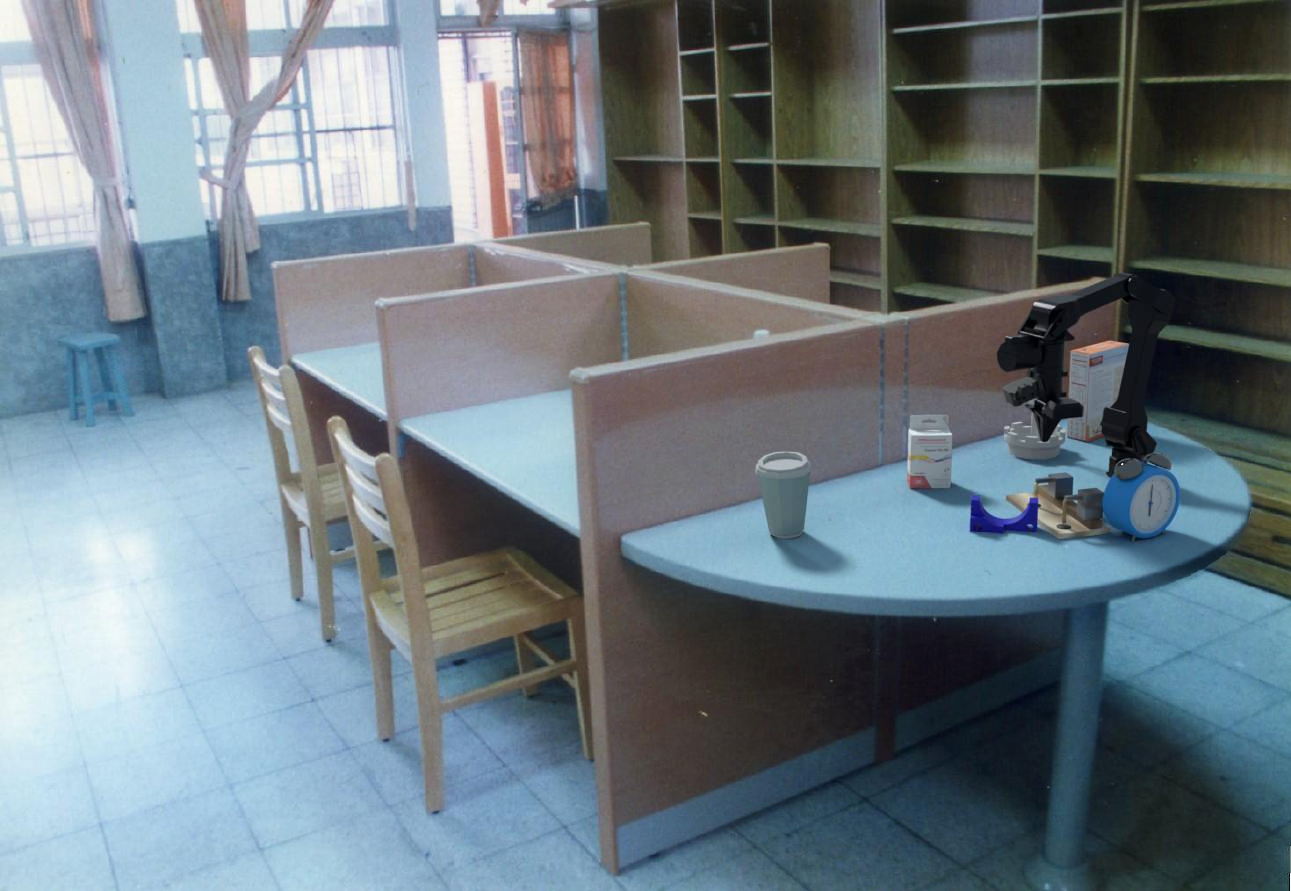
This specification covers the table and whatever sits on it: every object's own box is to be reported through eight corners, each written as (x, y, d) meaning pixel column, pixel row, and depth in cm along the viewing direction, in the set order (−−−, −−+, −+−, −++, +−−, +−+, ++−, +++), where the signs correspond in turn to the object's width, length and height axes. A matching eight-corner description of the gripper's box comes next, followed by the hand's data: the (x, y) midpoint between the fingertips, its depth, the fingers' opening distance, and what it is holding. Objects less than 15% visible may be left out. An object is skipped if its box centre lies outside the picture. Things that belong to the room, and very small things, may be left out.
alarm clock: (1123, 546, 212) (1129, 466, 208) (1098, 535, 218) (1103, 457, 213) (1178, 532, 217) (1185, 454, 212) (1152, 522, 222) (1158, 445, 218)
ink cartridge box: (909, 489, 247) (910, 421, 242) (906, 481, 251) (907, 414, 247) (951, 488, 246) (953, 420, 241) (948, 480, 250) (949, 413, 246)
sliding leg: (1064, 496, 233) (1065, 472, 231) (1072, 501, 230) (1073, 477, 228) (1030, 500, 232) (1031, 475, 230) (1037, 505, 229) (1038, 480, 227)
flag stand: (1072, 459, 259) (1080, 324, 250) (1012, 462, 260) (1018, 327, 251) (1053, 442, 272) (1060, 312, 263) (996, 444, 272) (1001, 315, 263)
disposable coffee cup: (807, 545, 220) (806, 468, 216) (751, 541, 224) (748, 466, 219) (816, 524, 230) (815, 451, 226) (762, 521, 233) (760, 449, 229)
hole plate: (1053, 494, 239) (1054, 459, 237) (1109, 533, 218) (1112, 495, 216) (1005, 499, 238) (1007, 464, 235) (1058, 539, 217) (1060, 500, 215)
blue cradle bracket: (969, 532, 223) (970, 502, 221) (970, 524, 227) (971, 494, 225) (1036, 536, 219) (1038, 506, 217) (1036, 527, 223) (1038, 497, 221)
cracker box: (1103, 425, 282) (1108, 339, 275) (1125, 430, 277) (1131, 343, 270) (1064, 437, 274) (1069, 348, 268) (1086, 443, 270) (1091, 353, 263)
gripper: (988, 357, 238) (985, 432, 242) (1031, 379, 220) (1027, 459, 225) (1041, 353, 239) (1037, 427, 244) (1087, 374, 222) (1082, 454, 226)
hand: (1044, 441), depth 235 cm, fingers closed
